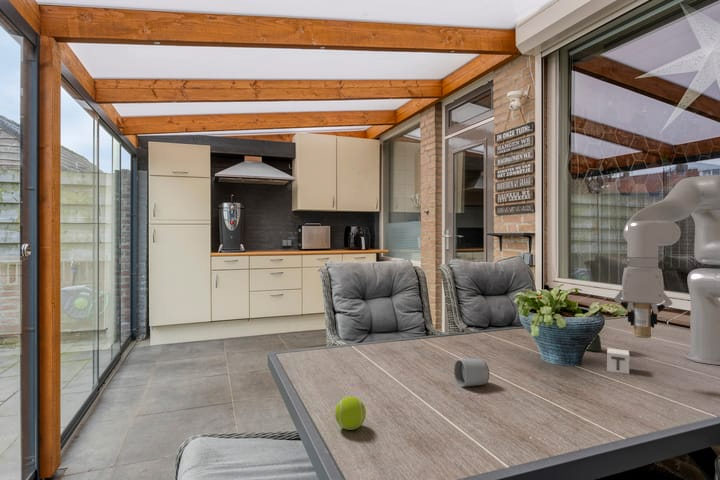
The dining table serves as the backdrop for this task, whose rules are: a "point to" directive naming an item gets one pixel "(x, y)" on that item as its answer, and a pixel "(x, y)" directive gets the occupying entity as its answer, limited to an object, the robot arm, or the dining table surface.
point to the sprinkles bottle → (642, 320)
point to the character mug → (596, 343)
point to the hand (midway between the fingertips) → (642, 325)
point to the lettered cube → (618, 360)
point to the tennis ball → (350, 413)
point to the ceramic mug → (471, 372)
